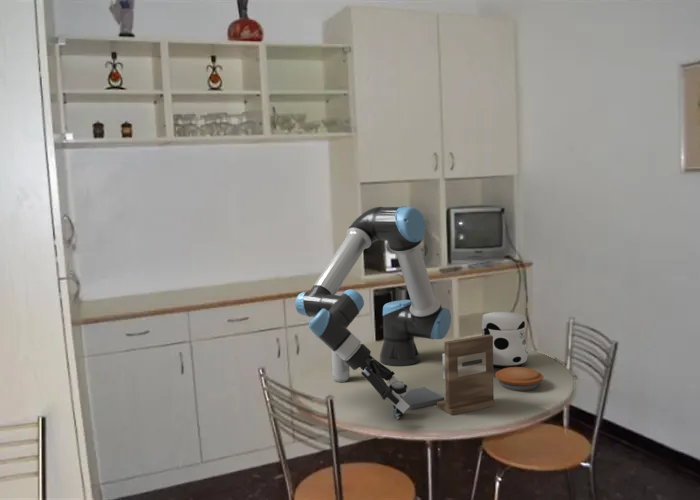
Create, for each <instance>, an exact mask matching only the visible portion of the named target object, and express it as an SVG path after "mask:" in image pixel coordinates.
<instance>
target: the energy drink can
mask: <svg viewBox="0 0 700 500" xmlns="http://www.w3.org/2000/svg"><path fill="white" fill-rule="evenodd" d="M330 349H331V348H330ZM335 354H336V353H335V352H334V351H333V350H332V349H331V368H332V369H331V371H332V373H331V374H332V379H333V380H334V381H333V382H335V383H345V382H348V381H349V378H350V375H351V373H350V366H349V365H348V364H347V363H346V360H343V359H341V358H340V357H339V356H336V355H335Z"/></svg>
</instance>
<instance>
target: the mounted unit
mask: <svg viewBox="0 0 700 500" xmlns="http://www.w3.org/2000/svg"><path fill="white" fill-rule="evenodd" d="M442 379H443V380H444V381H445V399H444V401H439V402H437V404H436V408H439V409H440V410H442V411H444V412H446V413H447V414H449V416H450V415H451V416H454V415H459V414H463V413H467V412H471V411H476V410H477V411H478V410H481V409H484V408H489V407H494V406H496V405H497V403H496V401H497V400H496V399H494V397H495V396H494V395H495V394H494V391H495V390H494V366H493V336H492V335H483V336H482V335H477V336H472V337H466V338H460V339H453V340H447V341H444V353H442Z"/></svg>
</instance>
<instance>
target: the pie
mask: <svg viewBox="0 0 700 500" xmlns="http://www.w3.org/2000/svg"><path fill="white" fill-rule="evenodd" d="M494 375H495V378H496V379H497V381H499V382H498V383H500V385H501V386H502V387H503V388H504V389H506V390H511V391H515V392H528V391H532V390H534V389H536V388H537V387H538V385H539V384H540V382H541V381H543V379H544V375H543V374H542V373H540V372H538V370H536V369H533V368H530V367H524V366H515V367H503V368H502V369H499V370H498V371H496V372H495V374H494Z"/></svg>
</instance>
